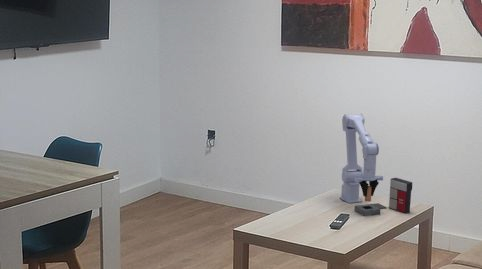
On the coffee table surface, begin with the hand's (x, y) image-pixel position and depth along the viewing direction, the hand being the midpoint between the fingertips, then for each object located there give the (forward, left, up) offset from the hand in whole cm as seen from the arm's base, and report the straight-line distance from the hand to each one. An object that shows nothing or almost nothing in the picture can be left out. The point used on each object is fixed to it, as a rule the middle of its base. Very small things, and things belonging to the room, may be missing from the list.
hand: (368, 195), depth 370 cm
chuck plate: (0, 0, -8) cm, 8 cm away
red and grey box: (+1, +17, -9) cm, 19 cm away
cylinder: (0, 0, -2) cm, 2 cm away
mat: (-7, +9, -8) cm, 14 cm away
